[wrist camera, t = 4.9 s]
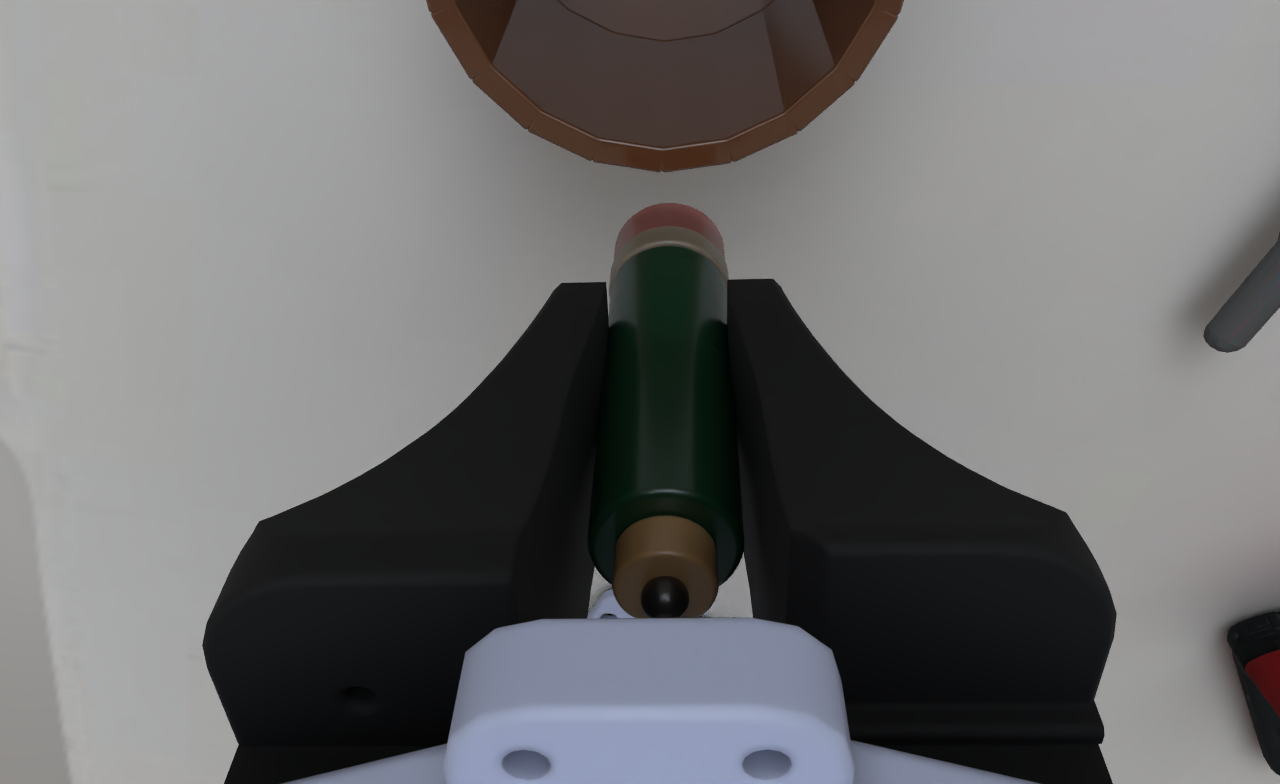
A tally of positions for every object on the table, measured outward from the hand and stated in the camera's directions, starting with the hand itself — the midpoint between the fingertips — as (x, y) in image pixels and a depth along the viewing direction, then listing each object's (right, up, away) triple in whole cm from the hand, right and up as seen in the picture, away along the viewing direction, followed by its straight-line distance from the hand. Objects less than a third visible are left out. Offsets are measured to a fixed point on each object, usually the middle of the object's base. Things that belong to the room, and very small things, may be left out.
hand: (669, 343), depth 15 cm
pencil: (0, +2, +2) cm, 3 cm away
